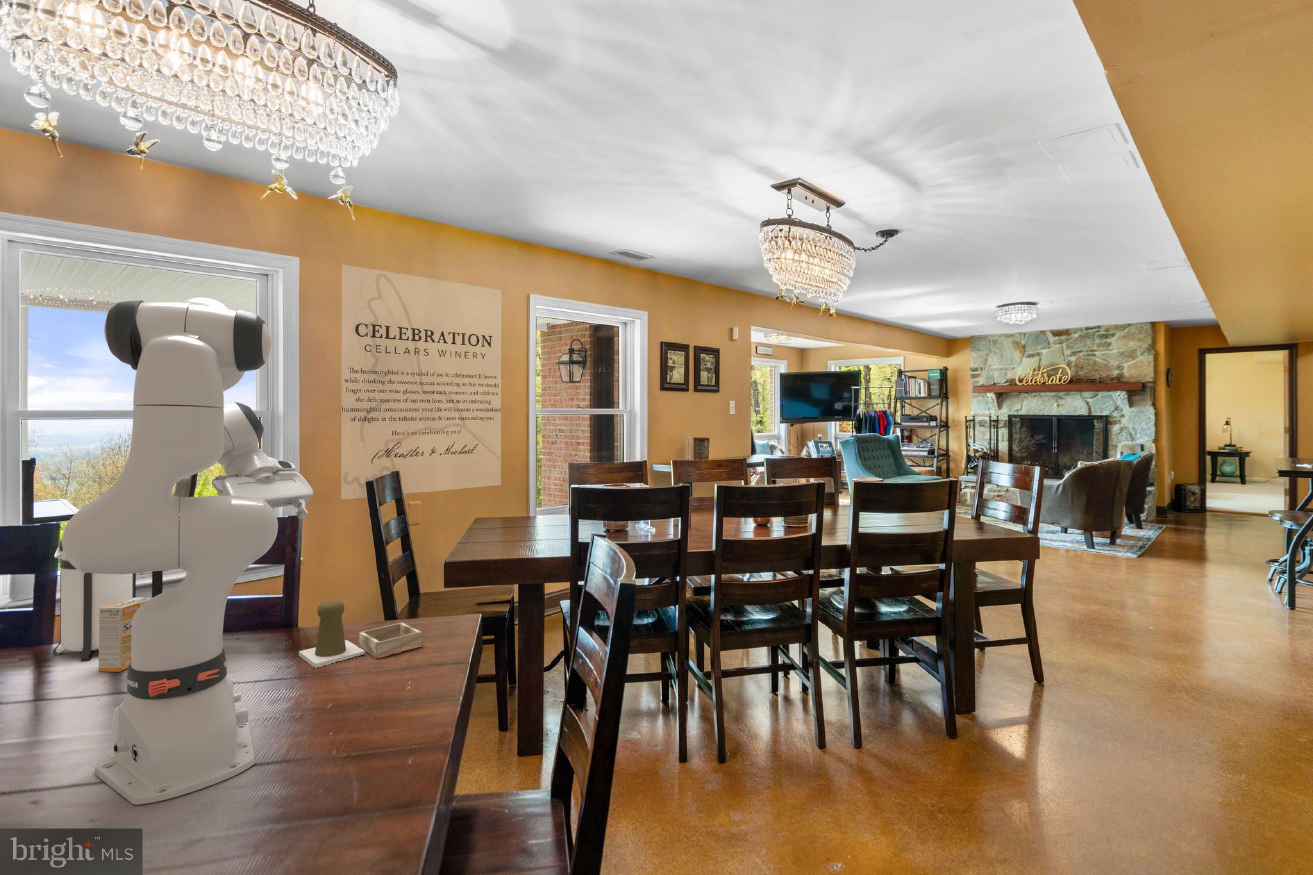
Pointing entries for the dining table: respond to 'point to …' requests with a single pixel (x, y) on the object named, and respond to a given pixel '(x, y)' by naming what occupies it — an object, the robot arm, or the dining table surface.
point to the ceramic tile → (321, 661)
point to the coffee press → (91, 602)
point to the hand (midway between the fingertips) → (286, 519)
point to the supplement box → (117, 634)
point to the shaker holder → (378, 648)
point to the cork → (330, 629)
